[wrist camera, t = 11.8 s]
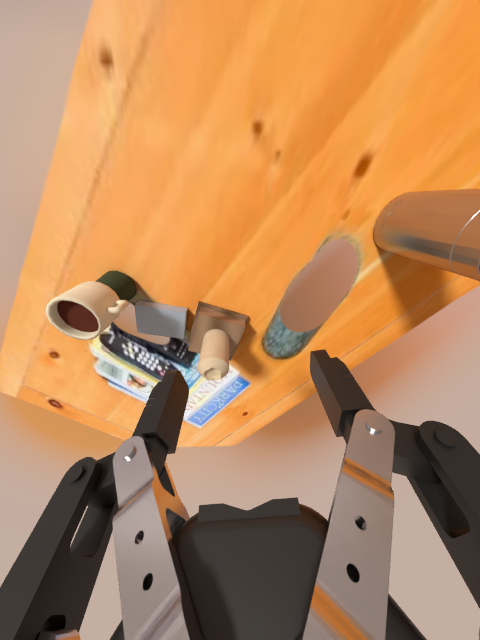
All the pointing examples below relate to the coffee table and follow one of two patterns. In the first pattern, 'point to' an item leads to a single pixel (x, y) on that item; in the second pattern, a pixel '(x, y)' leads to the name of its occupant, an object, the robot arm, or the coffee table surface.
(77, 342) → the coffee table surface
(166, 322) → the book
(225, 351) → the candle
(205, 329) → the stand
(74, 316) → the character mug
